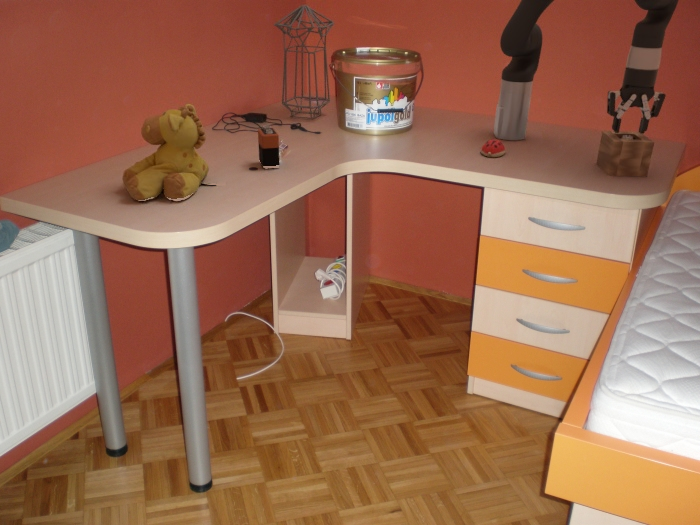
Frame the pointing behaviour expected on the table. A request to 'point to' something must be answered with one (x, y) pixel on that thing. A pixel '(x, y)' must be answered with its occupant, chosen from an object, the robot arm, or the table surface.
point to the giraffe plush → (169, 156)
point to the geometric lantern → (294, 18)
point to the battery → (268, 146)
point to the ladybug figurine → (493, 148)
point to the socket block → (624, 154)
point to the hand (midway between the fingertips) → (628, 132)
